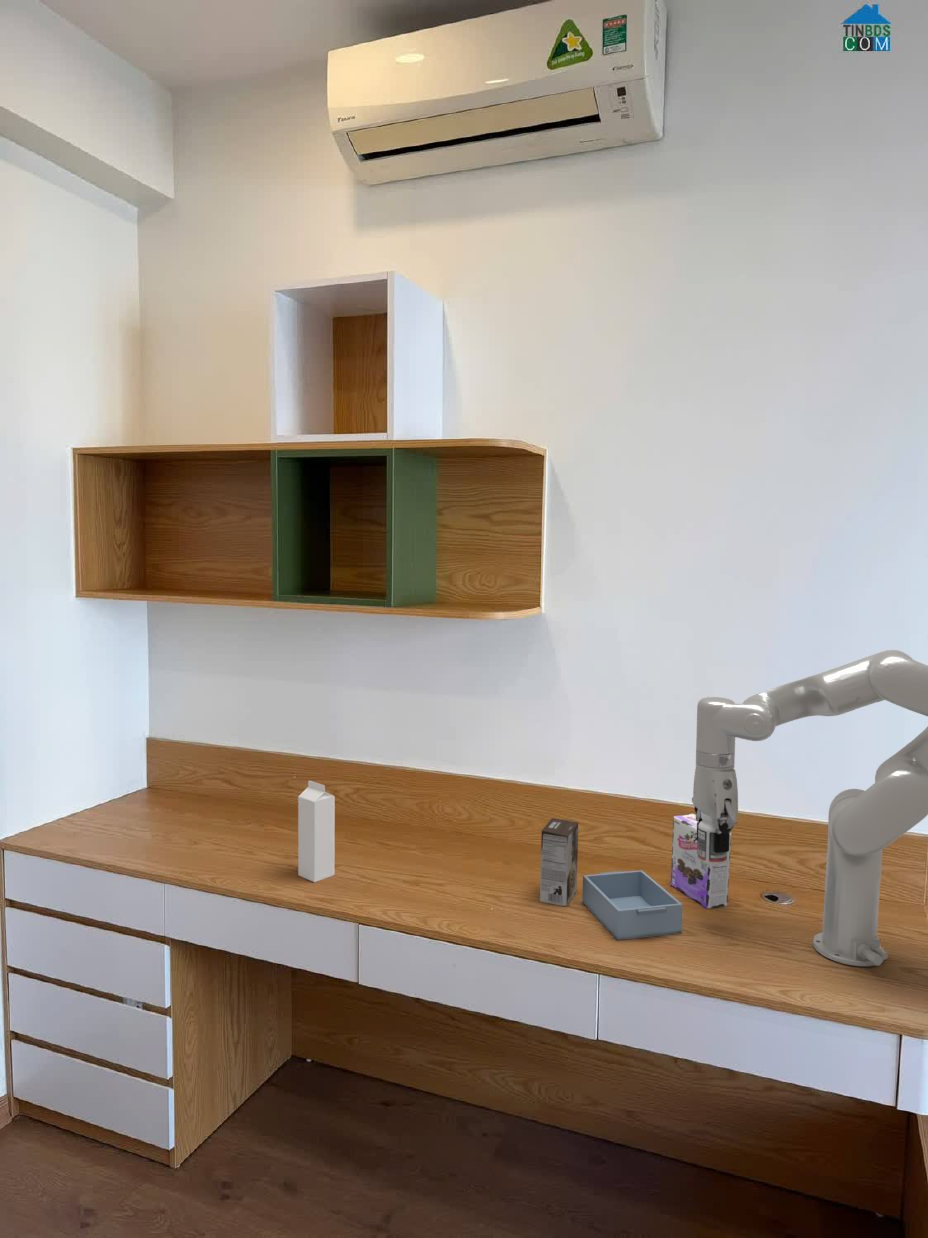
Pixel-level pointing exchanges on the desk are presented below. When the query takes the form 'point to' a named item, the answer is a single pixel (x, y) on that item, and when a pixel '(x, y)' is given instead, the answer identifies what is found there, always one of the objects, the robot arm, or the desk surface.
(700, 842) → the pill bottle
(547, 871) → the coffee box
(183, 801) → the desk surface
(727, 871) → the candy box
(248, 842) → the desk surface
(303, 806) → the milk
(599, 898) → the tote
